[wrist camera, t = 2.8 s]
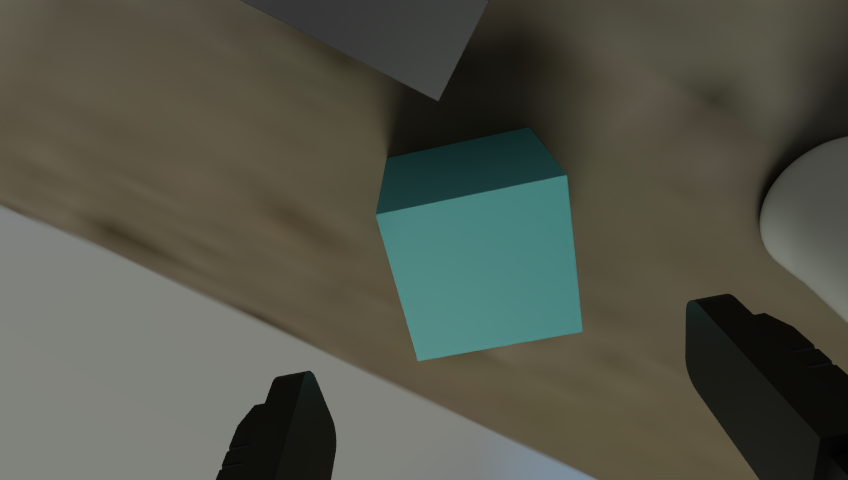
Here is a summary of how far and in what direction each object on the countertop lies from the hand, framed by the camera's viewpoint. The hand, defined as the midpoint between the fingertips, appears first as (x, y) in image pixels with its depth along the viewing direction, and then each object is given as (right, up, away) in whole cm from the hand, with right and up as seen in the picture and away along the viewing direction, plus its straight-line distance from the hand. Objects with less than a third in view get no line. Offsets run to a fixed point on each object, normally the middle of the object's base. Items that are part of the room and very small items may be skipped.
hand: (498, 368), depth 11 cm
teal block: (0, +4, +8) cm, 9 cm away
